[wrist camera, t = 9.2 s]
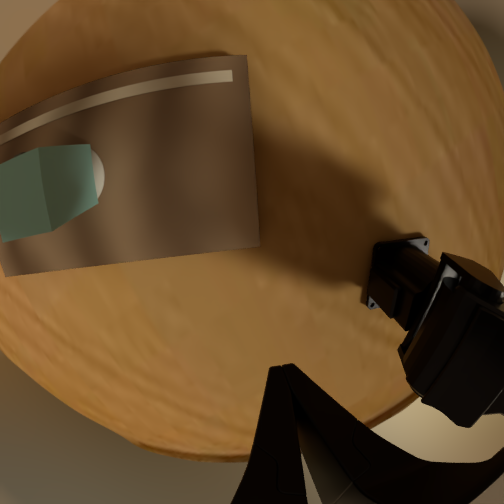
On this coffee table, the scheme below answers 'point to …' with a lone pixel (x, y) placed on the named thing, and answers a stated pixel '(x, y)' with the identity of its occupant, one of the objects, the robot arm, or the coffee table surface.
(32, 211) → the sage green box
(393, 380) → the coffee table surface
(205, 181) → the board
